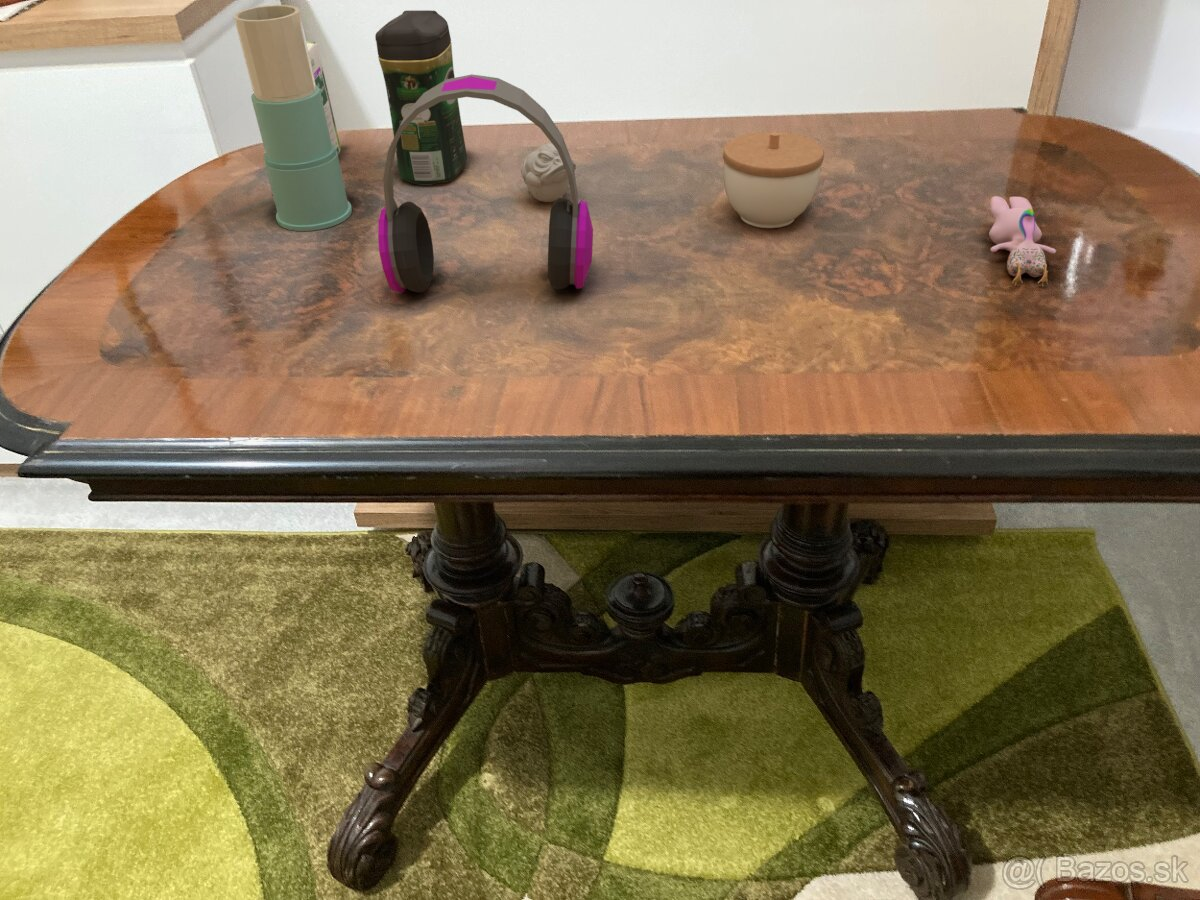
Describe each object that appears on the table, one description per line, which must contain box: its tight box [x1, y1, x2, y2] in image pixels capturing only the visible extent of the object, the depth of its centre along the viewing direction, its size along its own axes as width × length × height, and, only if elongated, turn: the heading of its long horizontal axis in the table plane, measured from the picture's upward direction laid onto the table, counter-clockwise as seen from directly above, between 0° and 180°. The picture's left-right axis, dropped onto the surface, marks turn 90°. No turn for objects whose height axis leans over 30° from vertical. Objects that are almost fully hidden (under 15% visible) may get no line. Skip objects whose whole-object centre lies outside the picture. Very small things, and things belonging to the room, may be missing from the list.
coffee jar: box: [374, 9, 468, 186], centre depth 111 cm, size 10×8×19 cm
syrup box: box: [306, 40, 342, 155], centre depth 115 cm, size 6×6×14 cm
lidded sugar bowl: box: [722, 131, 825, 229], centre depth 100 cm, size 11×11×9 cm
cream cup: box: [233, 4, 316, 103], centre depth 96 cm, size 6×6×8 cm
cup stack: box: [250, 85, 353, 232], centre depth 103 cm, size 9×9×14 cm
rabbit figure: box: [988, 195, 1057, 287], centre depth 93 cm, size 6×6×15 cm
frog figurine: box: [520, 142, 577, 203], centre depth 106 cm, size 6×7×7 cm
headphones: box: [377, 73, 594, 294], centre depth 86 cm, size 21×9×20 cm, turn 89°
